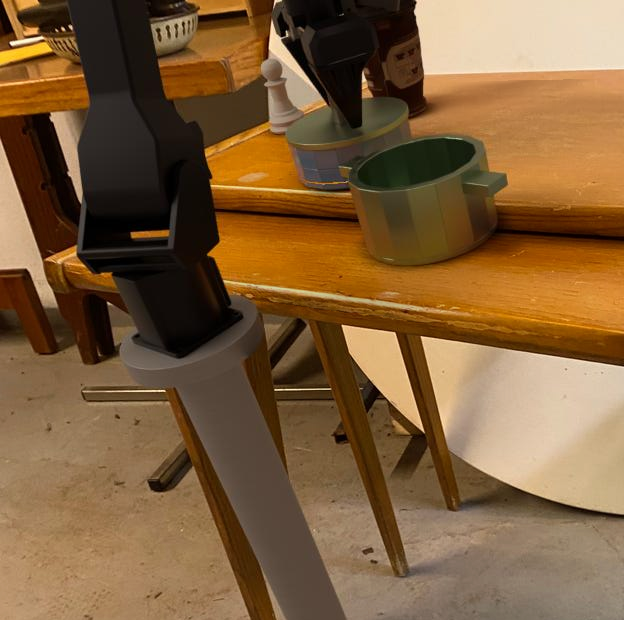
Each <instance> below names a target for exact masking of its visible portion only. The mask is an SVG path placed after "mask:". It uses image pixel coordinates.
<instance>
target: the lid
mask: <svg viewBox="0 0 624 620" xmlns="http://www.w3.org/2000/svg"><path fill="white" fill-rule="evenodd" d="M326 93H327V92H326ZM327 96H328V100H329V104H330V107H331V108H330V107H329V106H328V105H327V106H325V107H323V108H320V109H317V110H315V111H313V112H310V113H308V114H306V115H304V117H302V118H301V119H299V120H297V121H296V122H294V123H293V124H292V125H291V126H290V127H289V128H288V129H287V131H286V133H285V134H284V137H285V140H286V143H287V144H289V145H290V146H291V147H293V148H296V149H301V150H327V149H335V148H340V147H345V146H350V145H354V144H358V143H361V142H364V141H367V140H370V139H373V138H375V137H378V136H380V135H383V134H385V133H387V132H389V131H391V130H392V129H394V128H396V127H397V126H399V125H400V124H401V123H403V122H404V121H405V120H406V118H407V117H408V114H409V110H408V106H407V104H406V102H405V101H403V100H401V99H398V98H392V97H373V96H372V97H371V96H370V97H362V126H361V127H359V128H356V129H352V128H351V127H350V126H349V124H348V123H347V121H346V120H345V118H344V117H343V116H342V114H341V113H340V111H339V110H338V108H337V107H336V105H335V104H334V102H333V101H332V99H331V98H330V96H329V95H328V93H327ZM408 118H409V117H408ZM289 145H288V146H289Z"/></svg>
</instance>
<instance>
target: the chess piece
mask: <svg viewBox="0 0 624 620" xmlns="http://www.w3.org/2000/svg"><path fill="white" fill-rule="evenodd" d="M260 72H261V74H262V76H263V77H264V78H265V80H267V81H266V82H265V83H263V85H264V87H266V88H267V89H269V92H270V94H271V98H272V100H273V111H272V113H271V114H272V116H271V117H270V118H269V119H268V123H269V124H270V128H269V130H270V131H271V132H272V133H273V134H276V135H283V134H284V135H285V133H286V131H287V129H288V128H289V127H290V126H291V125H292V124H293V123H294V122H296V121H297V120H299V119H301V118H302V117H304V116H305V111H304V110H301V109H299V108H298V107H297V106H295V105H294V104H293V103H292V101H291V99H290V98H289V95H288V91H287V87H286V84H287V80H288V78H287V77H282V75H283V65H282V63H281V62H280V60H278V59H276V58H267V59H265V60H264V61H263V62H262V63H261V66H260Z"/></svg>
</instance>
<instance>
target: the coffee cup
mask: <svg viewBox="0 0 624 620" xmlns="http://www.w3.org/2000/svg"><path fill="white" fill-rule="evenodd" d="M417 4H418V2H417V0H400V2H399V11H388V10H386V9H385V8H382V7H373V6H365V5H357V4H355V6H356V10H357V11H356V12H354V13H356V14H357V15H359V16H361V17H362V18H364V19H365V20H367V21H368V22H370V23H371V24H373V25H374V26H375V30H376V34H377V38H378V43H379V48H378V49H376V53H375V55H374V57H373V58H371V59H370V60H369V61H368V63H367V64H366V66H365V68H364V69H363V72H362V74H363V76H364V79H365V81H366V84H367V89H368V90H369V92H370V93H371V96H372V97H392V98H398V99H401V100H403V101H405V102H406V104H407V106H408V110H409V114H408V118H409V117H412V116H414V115H417V114H419V113H420V112H422V111H424V110H425V109H426V108H427V107H428V100H427V98H426V97H425V96H424V81H425V70H424V63H423V55H422V45H421V37H420V31H419V26H418V21H417V15H416V13H415V10H416V9H417V7H416V5H417Z"/></svg>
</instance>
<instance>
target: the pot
mask: <svg viewBox="0 0 624 620" xmlns="http://www.w3.org/2000/svg"><path fill="white" fill-rule="evenodd" d="M339 170H340V173H341V176H342V177H346V178H348V184H349V187H350V189H349V190H350V194H351V197H352V201H353V204H354V208H355V212H356V215H357V219H358V222H359V226H360V229H361V233H362V237H363V240H364V243H365V247H366V249H367V251H368V253H369V255H370V256H371V257H372V258H373V259H375V260H376V261H377V262H378V261H379V262H380V263H383V264H387V265H393V266H401V267H403V266H404V267H407V266H409V267H410V266H411V267H413V266H422V265H423V266H424V265H430V264H435V263H439V262H444V261H447V260H450V259H454V258H457V257H459V256H461V255H464V254H466V253H469V252H471V251H473V250H475V249H476V248H478V247H479V246H481V245H483V244H484V243H485V242H487V241H488V240H489V239H490V238H491V237H492V236H493V235H494V233H496V230H497V228H498V223H499V220H498V219H499V216H498V212H497V206H496V200H495V195H496V194H497V193H499V192H500V191H502V190H504V189H505V188H507V187H508V186H509V182H508V175H507V173H505V172H497V171H490V167H489V160H488V155H487V151H486V147H485V144H484V141H482V140H480V139H477V138H475V137H474V136H471V135H466V134H465V135H464V134H454V133H444V134H443V133H442V134H432V135H423V136H418V137H415V138H413V139H410V140H405V141H401V142H398V143H395V144H392V145H390V146H387V147H384V148H382V149H379V150H377V151H375V152H373V153H371V154H369V155H368V156H366V157H362V156H356V157H354V158H352V159H351V160H349V161H347V162H345V163H344V164H342V165H340V166H339Z"/></svg>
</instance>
